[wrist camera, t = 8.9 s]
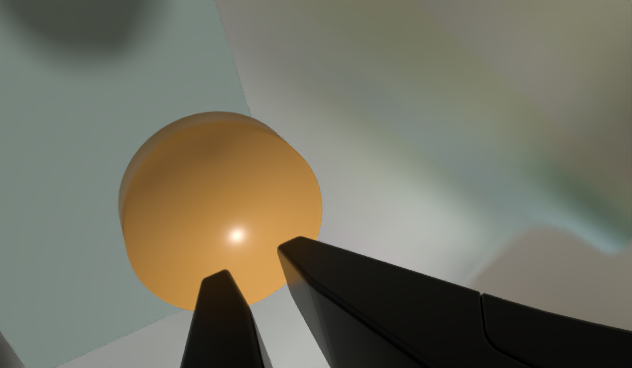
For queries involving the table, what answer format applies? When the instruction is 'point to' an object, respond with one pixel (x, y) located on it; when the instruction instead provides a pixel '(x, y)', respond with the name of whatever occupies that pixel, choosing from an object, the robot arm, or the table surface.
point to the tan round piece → (215, 206)
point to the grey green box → (90, 156)
